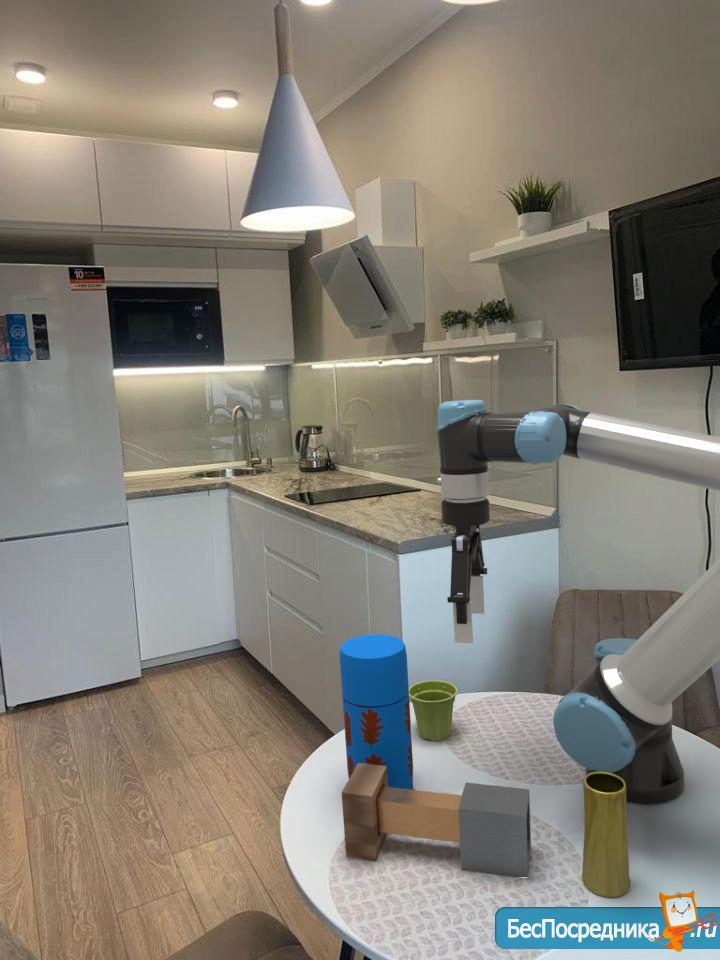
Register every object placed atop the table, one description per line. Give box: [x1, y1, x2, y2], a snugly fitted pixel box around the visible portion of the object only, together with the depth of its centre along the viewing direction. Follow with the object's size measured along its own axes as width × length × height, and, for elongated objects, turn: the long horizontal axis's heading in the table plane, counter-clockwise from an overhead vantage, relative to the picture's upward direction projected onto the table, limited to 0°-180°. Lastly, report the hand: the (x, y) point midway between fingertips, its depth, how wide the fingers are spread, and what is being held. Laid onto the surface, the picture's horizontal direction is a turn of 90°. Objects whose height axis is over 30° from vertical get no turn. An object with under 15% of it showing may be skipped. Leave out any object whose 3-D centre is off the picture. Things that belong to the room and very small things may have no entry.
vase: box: [581, 771, 632, 898], centre depth 95 cm, size 6×6×14 cm
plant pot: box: [408, 679, 459, 742], centre depth 137 cm, size 9×9×9 cm
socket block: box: [341, 763, 388, 862], centre depth 107 cm, size 4×8×10 cm, turn 163°
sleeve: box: [458, 782, 532, 878], centre depth 101 cm, size 9×6×9 cm
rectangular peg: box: [376, 786, 462, 844], centre depth 104 cm, size 18×4×5 cm, turn 73°
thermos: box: [339, 633, 414, 790], centre depth 119 cm, size 11×11×25 cm
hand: (470, 626), depth 118 cm, fingers open, 13 cm apart
